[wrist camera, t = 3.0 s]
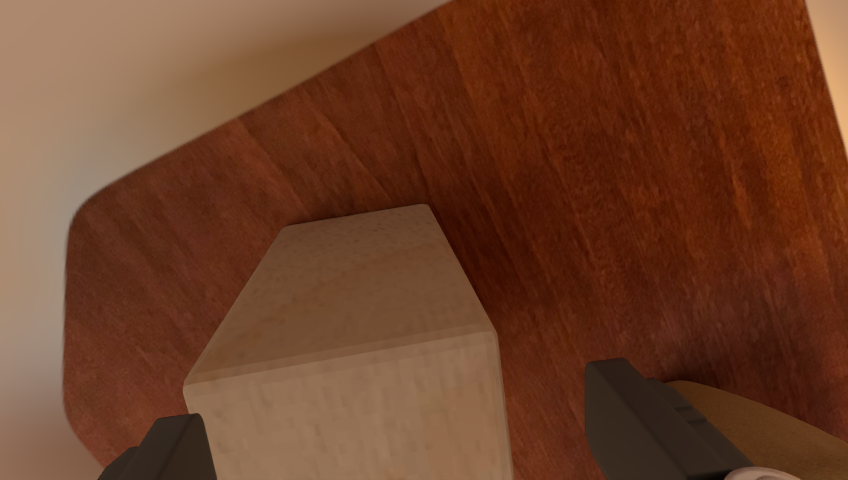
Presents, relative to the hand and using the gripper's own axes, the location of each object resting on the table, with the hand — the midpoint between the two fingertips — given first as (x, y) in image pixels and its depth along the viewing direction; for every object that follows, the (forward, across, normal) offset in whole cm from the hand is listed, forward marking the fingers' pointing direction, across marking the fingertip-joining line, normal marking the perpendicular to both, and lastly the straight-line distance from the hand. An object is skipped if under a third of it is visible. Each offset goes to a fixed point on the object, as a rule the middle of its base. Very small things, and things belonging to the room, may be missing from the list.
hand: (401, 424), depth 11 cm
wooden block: (+25, +1, +6) cm, 26 cm away
